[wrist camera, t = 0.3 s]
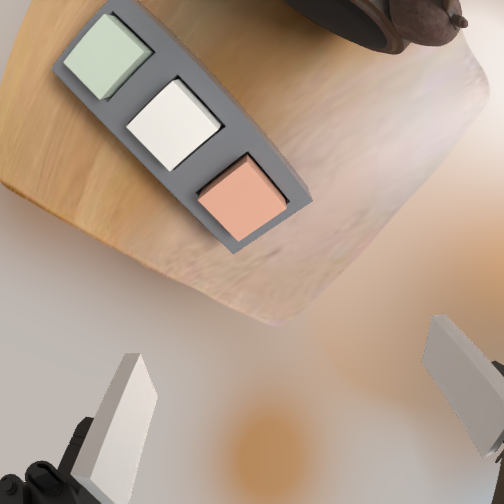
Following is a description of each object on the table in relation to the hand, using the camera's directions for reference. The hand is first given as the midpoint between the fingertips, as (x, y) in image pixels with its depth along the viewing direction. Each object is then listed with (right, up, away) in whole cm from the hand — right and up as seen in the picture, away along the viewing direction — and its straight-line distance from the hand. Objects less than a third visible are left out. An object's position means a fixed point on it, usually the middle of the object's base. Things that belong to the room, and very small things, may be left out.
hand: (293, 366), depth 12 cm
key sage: (-16, +25, +12) cm, 32 cm away
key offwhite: (-9, +18, +16) cm, 26 cm away
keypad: (-9, +20, +19) cm, 29 cm away
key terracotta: (-3, +11, +21) cm, 24 cm away
